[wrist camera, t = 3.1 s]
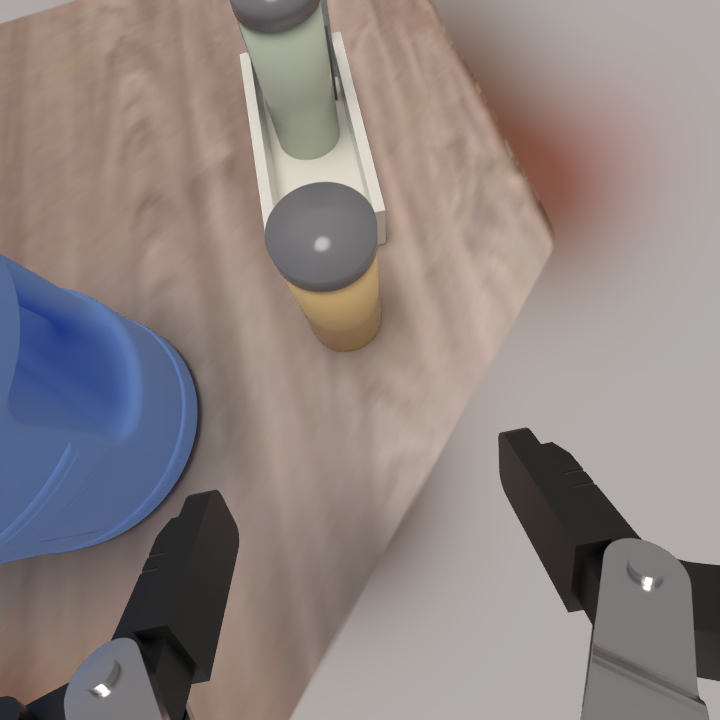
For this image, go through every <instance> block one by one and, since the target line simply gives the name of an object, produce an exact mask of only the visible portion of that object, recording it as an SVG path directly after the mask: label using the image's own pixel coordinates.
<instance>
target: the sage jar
mask: <svg viewBox="0 0 720 720" xmlns="http://www.w3.org/2000/svg"><path fill="white" fill-rule="evenodd" d="M230 3H231V6H232V9H233V12H234V15H235V17H236V18H237V20H238V22H239V25H240V28H241V31H242V34H243V36H244V39H245V42H246V45H247V48H248V51H249V54H250V57H251V60H252V63H253V66H254V69H255V72H256V75H257V78H258V81H259V84H260V87H261V90H262V93H263V96H264V99H265V102H266V105H267V108H268V111H269V114H270V117H271V120H272V123H273V126H274V128H275V131H276V134H277V137H278V140H279V143H280V146H281V148H282V149H283V151H284V152H285V153H286V154H288V155H289V156H291V157H293V158H295V159H299V160H312V159H317V158H320V157H322V156H324V155H326V154H327V153H329V152H330V151H331V150H332V149H333V148H334V147H335V146H336V144H337V142H338V140H339V137H340V128H339V121H338V115H337V108H336V101H335V95H334V88H333V81H332V75H331V68H330V61H329V55H328V48H327V41H326V35H325V28H324V21H323V15H322V8H321V1H320V0H230Z"/></svg>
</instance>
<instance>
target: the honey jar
mask: <svg viewBox="0 0 720 720" xmlns="http://www.w3.org/2000/svg"><path fill="white" fill-rule="evenodd" d="M265 244H266V247H267V250H268V253H269V255H270V257H271V258H272V260H273V262H274V264H275V266H276V268H277V269H278V271H279V272H280V274H281V275H282V276H283V277H284V278H285V280H286V282H287V284H288V286H289V287H290V289H291V291H292V293H293V295H294V297H295V299H296V300H297V302H298V304H299V306H300V308H301V310H302V311H303V313H304V315H305V317H306V319H307V321H308V323H309V324H310V326H311V328H312V330H313V332H314V334H315V335H316V337H317V339H318V340H319V341H320V342H321V343H322V344H323V345H325V346H326V347H328V348H330V349H332V350H335V351H341V352H349V351H354V350H358V349H360V348H362V347H364V346H366V345H367V344H368V343H370V342H371V341H372V340H373V339H374V337H375V336H376V334H377V332H378V330H379V328H380V324H381V307H380V292H379V276H378V261H377V249H378V229H377V219H376V215H375V212H374V209H373V208H372V206H371V204H370V203H369V201H368V200H367V199H366V198H365V197H364V196H363V195H362V194H361V193H359V192H358V191H357V190H355V189H353V188H351V187H349V186H346V185H344V184H340V183H335V182H316V183H311V184H307V185H304V186H301V187H299V188H297V189H295V190H293V191H291V192H290V193H288V194H287V195H286V196H284V197H283V198H282V199H281V200H280V201H279V202H278V203H277V204H276V205H275V207H274V208H273V210H272V211H271V213H270V215H269V217H268V220H267V223H266V227H265Z"/></svg>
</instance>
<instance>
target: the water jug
mask: <svg viewBox="0 0 720 720" xmlns="http://www.w3.org/2000/svg"><path fill="white" fill-rule="evenodd" d="M197 416H198V409H197V397H196V392H195V387H194V383H193V380H192V377H191V375H190V372H189V370H188V368H187V366H186V364H185V363H184V361H183V359H182V358H181V356H180V355H179V354H178V352H177V351H176V350H175V349H174V348H173V347H172V346H171V345H170V344H169V343H168V342H167V341H166V340H164V339H163V338H162V337H161V336H159V335H158V334H156V333H154V332H153V331H151V330H149V329H148V328H146V327H144V326H143V325H141V324H139V323H137V322H135V321H132V320H130V319H127V318H125V317H123V316H122V315H120V314H118V313H117V312H115V311H113V310H112V309H110V308H108V307H107V306H105V305H103V304H102V303H100V302H98V301H97V300H95V299H93V298H91V297H89V296H87V295H85V294H82V293H79V292H76V291H73V290H69V289H64V288H60V287H58V286H56V285H54V284H53V283H51V282H49V281H47V280H45V279H44V278H42V277H40V276H38V275H37V274H35V273H33V272H31V271H30V270H28V269H26V268H24V267H23V266H21V265H19V264H17V263H16V262H14V261H12V260H10V259H9V258H7V257H5V256H3V255H2V254H0V564H2V563H6V562H11V561H15V560H19V559H24V558H28V557H33V556H37V555H42V554H50V553H61V552H67V551H72V550H76V549H80V548H85V547H89V546H93V545H96V544H99V543H102V542H105V541H107V540H110V539H112V538H114V537H116V536H118V535H120V534H122V533H124V532H125V531H127V530H129V529H130V528H132V527H133V526H135V525H136V524H138V523H139V522H140V521H142V520H143V519H144V518H145V517H146V516H148V515H149V514H150V513H151V512H152V511H153V510H154V509H155V508H156V507H157V506H158V505H159V504H160V503H161V502H162V501H163V499H164V498H165V497H166V496H167V495H168V493H169V492H170V491H171V489H172V488H173V486H174V485H175V483H176V482H177V480H178V479H179V477H180V475H181V473H182V471H183V469H184V467H185V465H186V463H187V461H188V458H189V456H190V453H191V450H192V447H193V443H194V439H195V434H196V428H197Z"/></svg>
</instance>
